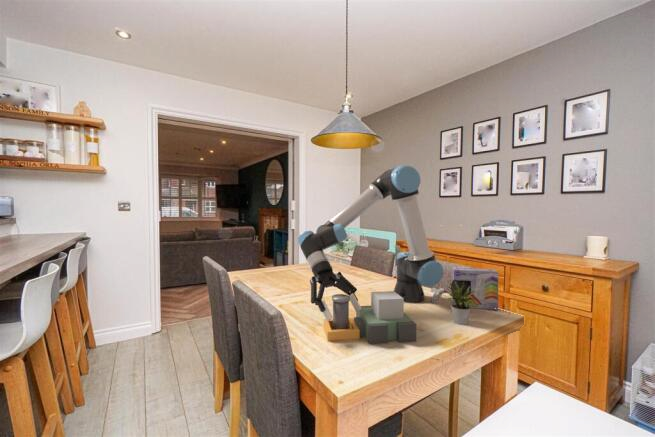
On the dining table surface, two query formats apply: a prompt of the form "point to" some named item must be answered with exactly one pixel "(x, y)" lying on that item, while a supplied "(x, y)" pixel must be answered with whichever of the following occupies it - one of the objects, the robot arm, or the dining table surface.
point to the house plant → (460, 305)
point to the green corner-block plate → (377, 321)
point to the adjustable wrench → (436, 294)
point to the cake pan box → (477, 286)
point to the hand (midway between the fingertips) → (345, 315)
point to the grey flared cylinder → (340, 311)
